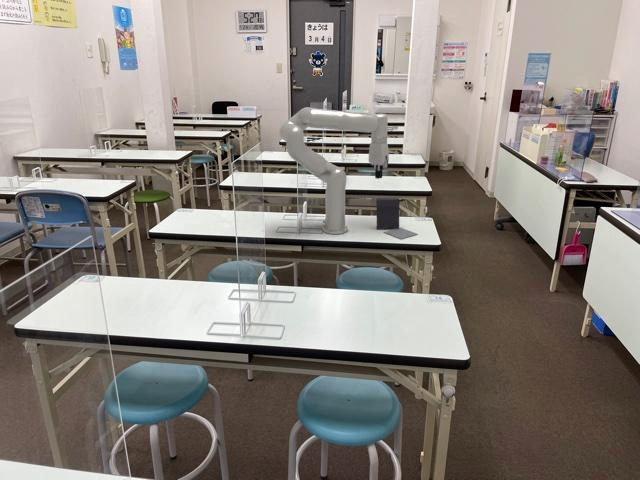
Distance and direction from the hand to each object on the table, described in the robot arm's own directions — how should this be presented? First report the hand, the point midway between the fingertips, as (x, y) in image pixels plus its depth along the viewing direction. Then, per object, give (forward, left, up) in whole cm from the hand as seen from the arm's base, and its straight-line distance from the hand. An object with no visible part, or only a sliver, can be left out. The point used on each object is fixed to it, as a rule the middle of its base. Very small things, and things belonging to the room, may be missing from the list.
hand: (378, 178), depth 234 cm
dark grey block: (+8, 0, -24) cm, 25 cm away
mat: (+17, -1, -24) cm, 30 cm away
